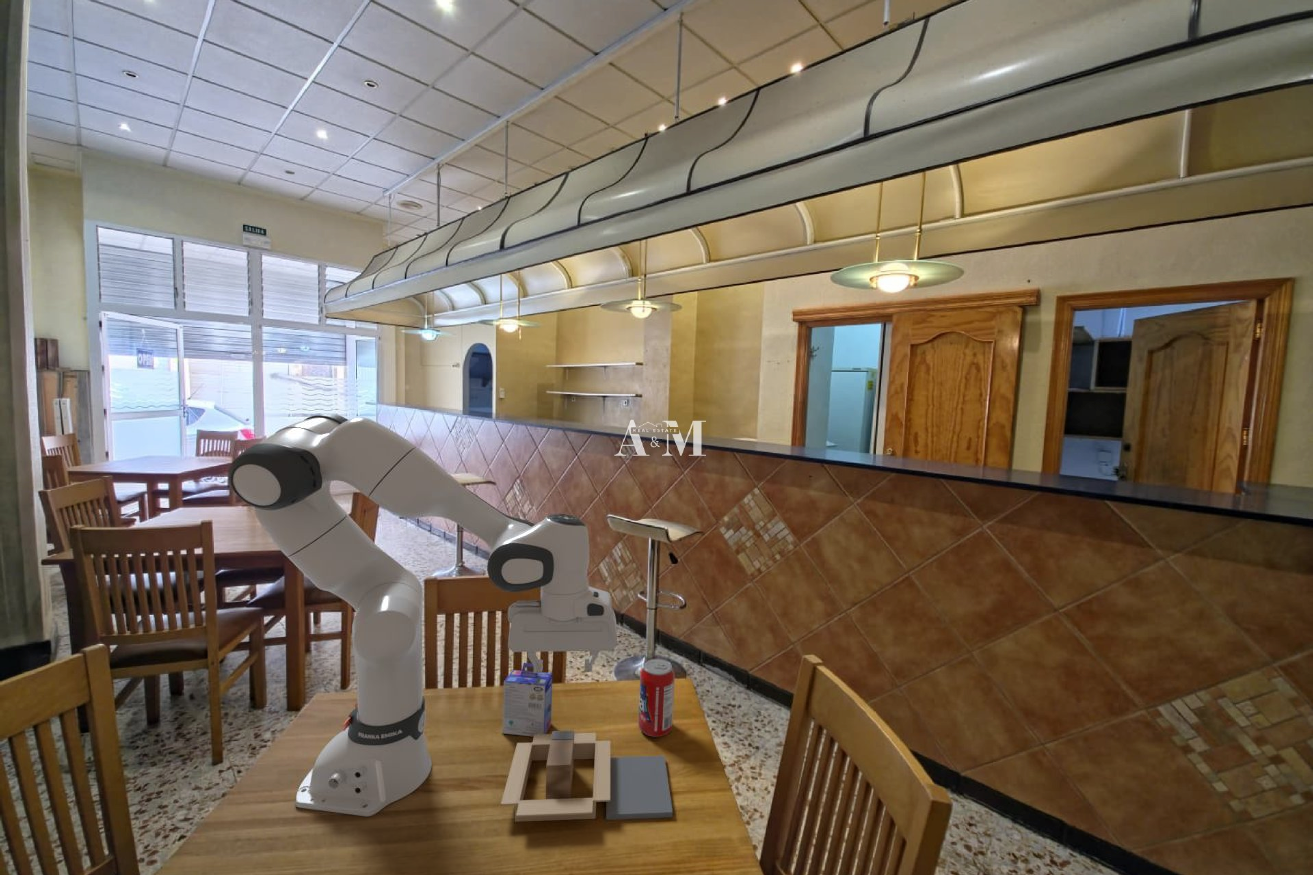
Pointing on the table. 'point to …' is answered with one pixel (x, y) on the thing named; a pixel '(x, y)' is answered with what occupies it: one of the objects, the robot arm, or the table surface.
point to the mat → (638, 788)
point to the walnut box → (560, 765)
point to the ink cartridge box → (527, 702)
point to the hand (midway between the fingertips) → (563, 670)
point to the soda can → (656, 697)
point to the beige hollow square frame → (557, 807)
